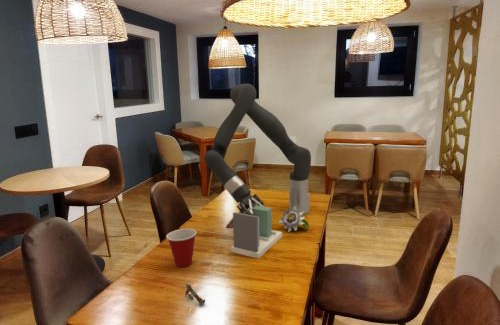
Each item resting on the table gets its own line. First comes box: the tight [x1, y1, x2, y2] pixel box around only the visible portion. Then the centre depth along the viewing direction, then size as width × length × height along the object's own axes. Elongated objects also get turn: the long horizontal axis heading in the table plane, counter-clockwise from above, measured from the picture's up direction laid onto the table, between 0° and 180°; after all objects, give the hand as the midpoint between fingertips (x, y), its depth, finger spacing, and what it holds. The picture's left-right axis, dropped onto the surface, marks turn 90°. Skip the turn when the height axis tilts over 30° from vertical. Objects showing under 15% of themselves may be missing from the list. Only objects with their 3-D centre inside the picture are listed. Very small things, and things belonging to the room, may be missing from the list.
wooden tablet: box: [225, 211, 246, 230], centre depth 174 cm, size 26×2×10 cm
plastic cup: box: [165, 228, 197, 268], centre depth 131 cm, size 11×11×12 cm
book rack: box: [230, 211, 283, 259], centre depth 145 cm, size 22×12×16 cm, turn 152°
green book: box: [252, 206, 273, 238], centre depth 149 cm, size 4×7×12 cm, turn 62°
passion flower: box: [277, 207, 310, 233], centre depth 161 cm, size 11×11×12 cm
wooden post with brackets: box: [184, 283, 206, 307], centre depth 109 cm, size 2×8×4 cm, turn 49°
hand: (262, 219), depth 148 cm, fingers open, 8 cm apart
